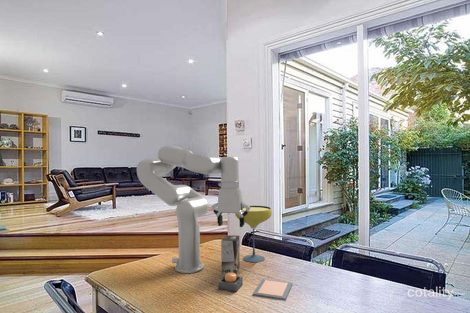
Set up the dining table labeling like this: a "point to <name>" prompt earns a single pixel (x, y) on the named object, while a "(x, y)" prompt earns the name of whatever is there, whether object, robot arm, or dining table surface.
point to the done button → (230, 277)
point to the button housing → (230, 285)
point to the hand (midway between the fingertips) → (230, 225)
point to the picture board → (273, 289)
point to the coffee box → (230, 255)
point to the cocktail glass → (253, 219)
